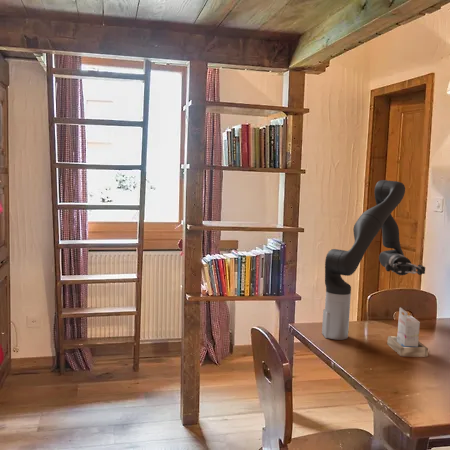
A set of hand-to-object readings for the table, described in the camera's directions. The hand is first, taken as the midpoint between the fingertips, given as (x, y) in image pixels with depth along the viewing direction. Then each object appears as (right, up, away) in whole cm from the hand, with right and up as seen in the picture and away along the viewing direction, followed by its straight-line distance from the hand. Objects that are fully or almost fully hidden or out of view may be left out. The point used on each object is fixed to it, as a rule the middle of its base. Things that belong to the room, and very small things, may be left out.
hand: (409, 271), depth 190 cm
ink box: (-4, -27, -10) cm, 29 cm away
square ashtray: (-4, -27, -10) cm, 29 cm away
